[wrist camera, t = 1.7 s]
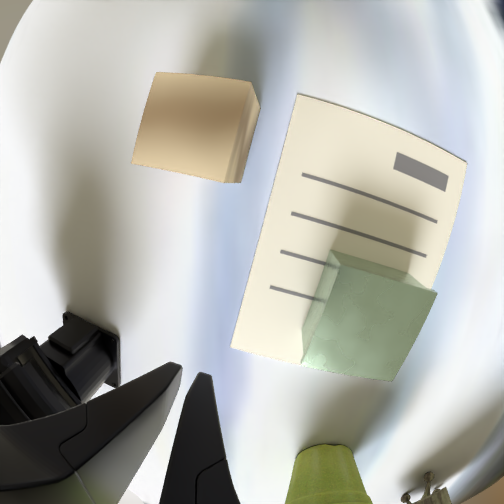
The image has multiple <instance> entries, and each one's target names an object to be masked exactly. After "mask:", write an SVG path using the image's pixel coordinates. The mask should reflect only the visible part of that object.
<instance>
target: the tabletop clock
mask: <svg viewBox="0 0 504 504" xmlns="http://www.w3.org/2000/svg"><path fill="white" fill-rule="evenodd" d="M433 478H434V473H432V472H429V473H427V474H425V476H424V481H425V482H427V483H426V488H425V492H424V495H423V497H422V498H421V500H419V501H417V502H415V503H411V502H410V501H409V500H410V495H408V494H405V495H403V496H402V497H401V502H403V503H407V504H452V503H451V500H450V497H449V494H448V491H447V488H446V487H445V488H443V489H441V490H440V489H435V490H434V491H433V493H432V494H431V495H430V481H432V480H433Z"/></svg>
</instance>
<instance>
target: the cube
mask: <svg viewBox="0 0 504 504" xmlns="http://www.w3.org/2000/svg"><path fill="white" fill-rule="evenodd" d="M260 109H261V108H260V105H259V103H258V100H257V97H256V94H255V91H254V89H253V86H252V83H251V82H249V81H243V80H236V79H230V78H222V77H214V76H206V75H195V74H183V73H165V72H156V74H155V77H154V80H153V83H152V86H151V89H150V92H149V96H148V99H147V102H146V106H145V109H144V113H143V116H142V120H141V124H140V128H139V131H138V135H137V140H136V144H135V148H134V152H133V157H132V162H131V164H136V165H142V166H147V167H152V168H157V169H162V170H167V171H172V172H177V173H182V174H187V175H191V176H196V177H200V178H205V179H209V180H214V181H218V182H222V183H241V181H242V177H243V173H244V169H245V165H246V161H247V157H248V153H249V150H250V146H251V142H252V138H253V134H254V131H255V127H256V123H257V120H258V116H259V112H260Z"/></svg>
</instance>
